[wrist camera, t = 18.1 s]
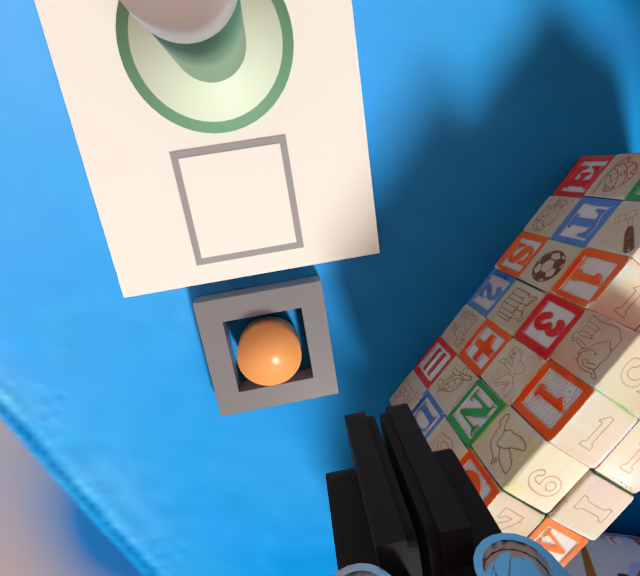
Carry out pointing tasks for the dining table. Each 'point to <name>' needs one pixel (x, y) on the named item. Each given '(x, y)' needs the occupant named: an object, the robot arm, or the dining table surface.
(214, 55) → the marker
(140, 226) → the activity sheet
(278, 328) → the button
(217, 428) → the dining table surface
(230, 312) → the button housing
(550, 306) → the stack of blocks
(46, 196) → the dining table surface
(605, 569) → the lunch box
